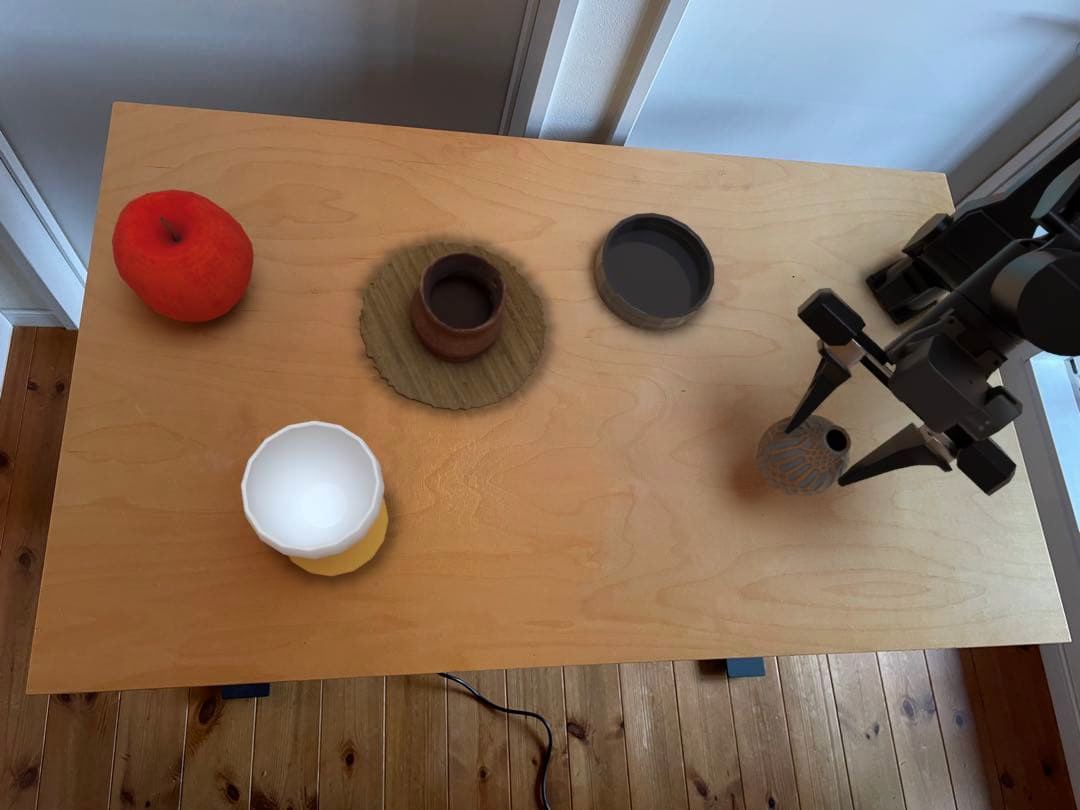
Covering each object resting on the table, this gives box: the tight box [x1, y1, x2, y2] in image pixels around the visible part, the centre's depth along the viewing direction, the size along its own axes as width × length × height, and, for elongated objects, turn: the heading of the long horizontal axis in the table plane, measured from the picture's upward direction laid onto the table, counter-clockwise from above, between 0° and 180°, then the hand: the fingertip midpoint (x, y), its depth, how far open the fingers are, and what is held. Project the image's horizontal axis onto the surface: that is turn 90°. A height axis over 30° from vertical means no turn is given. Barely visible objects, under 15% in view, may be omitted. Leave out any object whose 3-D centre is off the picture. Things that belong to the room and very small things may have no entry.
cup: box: [240, 420, 389, 577], centre depth 50 cm, size 9×9×16 cm
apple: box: [111, 189, 254, 323], centre depth 56 cm, size 10×10×12 cm
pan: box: [594, 212, 715, 331], centre depth 70 cm, size 12×12×3 cm
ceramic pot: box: [358, 241, 548, 411], centre depth 62 cm, size 18×18×7 cm
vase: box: [755, 413, 852, 497], centre depth 57 cm, size 7×7×9 cm
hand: (812, 457), depth 54 cm, fingers closed on vase, 5 cm apart
